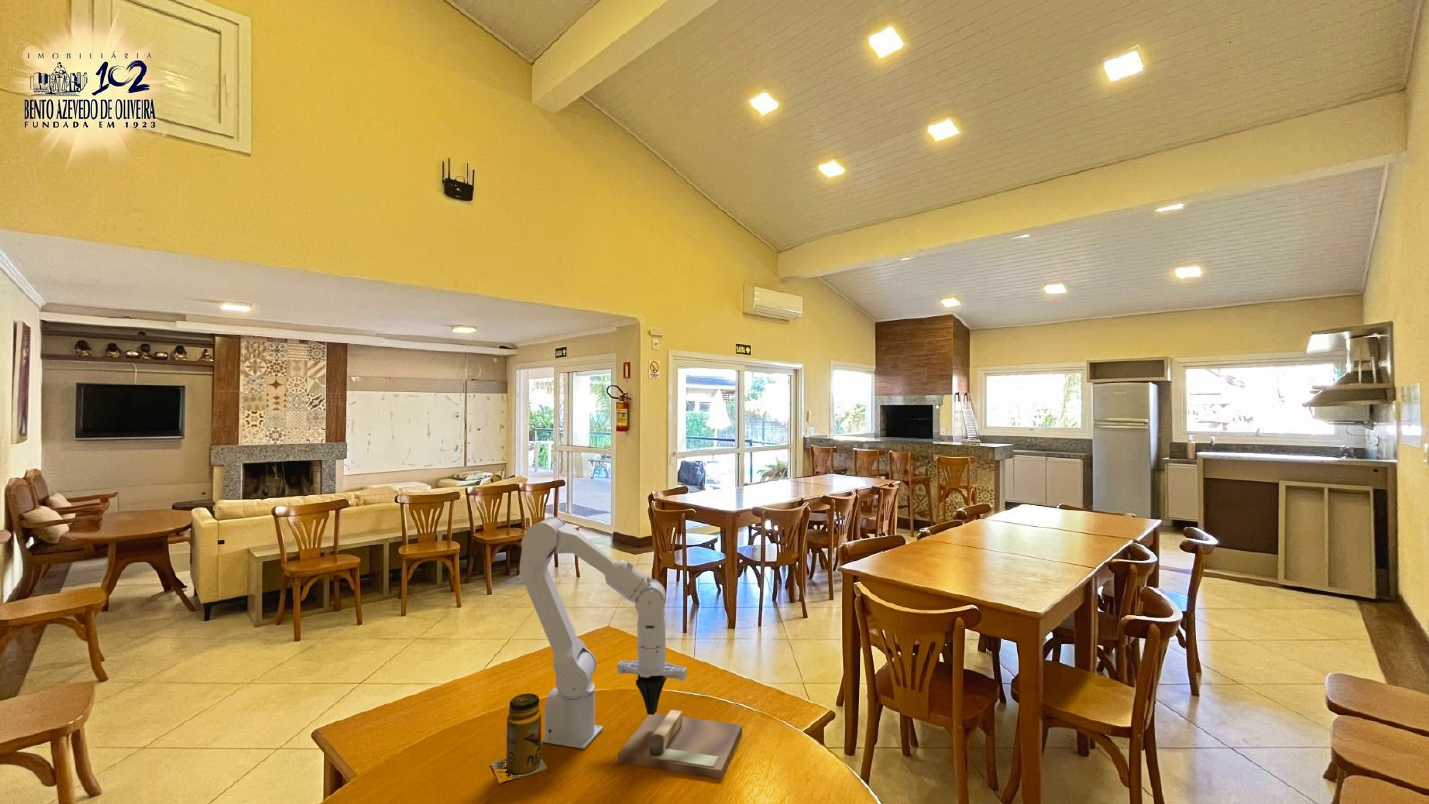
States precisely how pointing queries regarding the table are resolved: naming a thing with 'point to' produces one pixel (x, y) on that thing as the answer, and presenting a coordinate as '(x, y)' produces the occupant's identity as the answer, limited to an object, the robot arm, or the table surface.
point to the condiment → (523, 738)
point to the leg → (665, 732)
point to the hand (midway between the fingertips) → (652, 712)
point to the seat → (685, 747)
